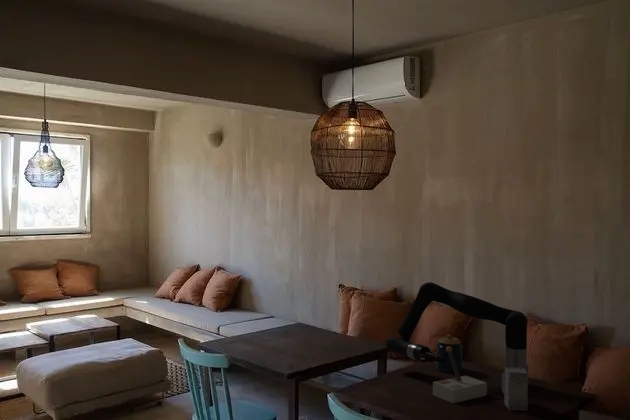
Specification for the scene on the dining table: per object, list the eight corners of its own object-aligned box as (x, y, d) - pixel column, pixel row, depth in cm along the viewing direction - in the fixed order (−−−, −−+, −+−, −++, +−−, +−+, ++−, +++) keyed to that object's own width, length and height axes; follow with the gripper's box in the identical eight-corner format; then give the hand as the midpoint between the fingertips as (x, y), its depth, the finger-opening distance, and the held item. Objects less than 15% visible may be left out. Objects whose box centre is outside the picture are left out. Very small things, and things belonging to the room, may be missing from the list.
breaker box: (465, 387, 257) (466, 374, 257) (486, 395, 247) (486, 382, 247) (432, 394, 247) (433, 381, 247) (453, 403, 237) (453, 389, 237)
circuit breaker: (518, 398, 244) (519, 363, 244) (527, 410, 230) (528, 373, 230) (500, 397, 245) (501, 362, 244) (508, 409, 230) (509, 372, 230)
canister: (436, 372, 281) (436, 336, 281) (435, 365, 294) (435, 330, 294) (463, 374, 279) (464, 337, 279) (461, 366, 292) (461, 332, 291)
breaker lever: (459, 381, 249) (448, 346, 255) (463, 380, 247) (452, 345, 253) (455, 382, 247) (444, 347, 253) (459, 381, 245) (447, 345, 251)
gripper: (407, 346, 266) (433, 354, 251) (429, 342, 273) (455, 350, 258) (407, 362, 266) (433, 371, 252) (428, 358, 273) (455, 367, 258)
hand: (444, 361), depth 255 cm, fingers closed
